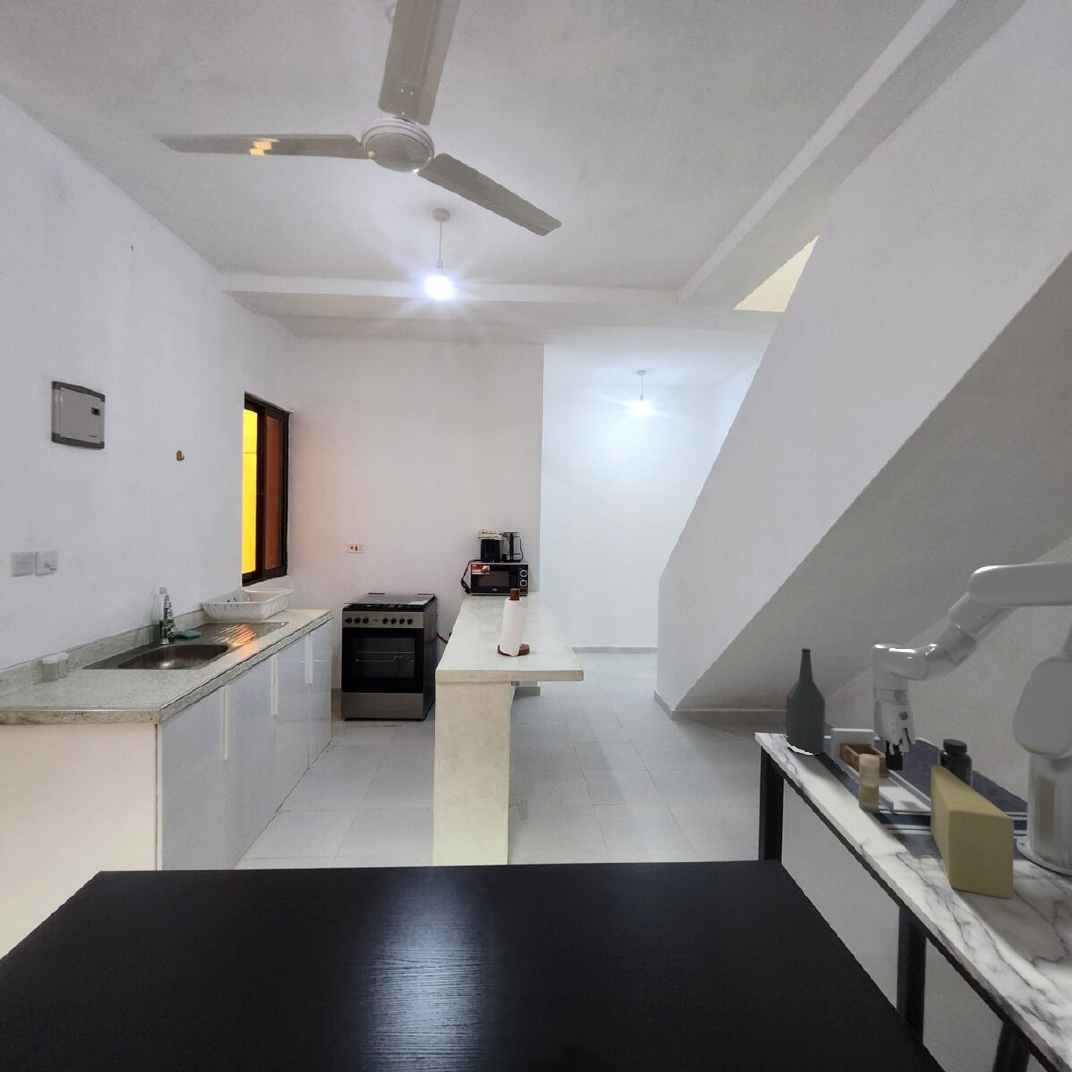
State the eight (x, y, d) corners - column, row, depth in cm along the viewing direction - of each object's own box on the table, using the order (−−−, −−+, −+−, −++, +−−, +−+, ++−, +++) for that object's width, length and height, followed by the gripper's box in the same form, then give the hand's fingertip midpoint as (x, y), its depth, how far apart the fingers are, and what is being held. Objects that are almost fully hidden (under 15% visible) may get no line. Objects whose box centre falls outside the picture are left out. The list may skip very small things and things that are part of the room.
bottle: (830, 756, 156) (832, 652, 156) (796, 756, 156) (797, 652, 156) (813, 742, 167) (814, 645, 166) (780, 742, 167) (782, 644, 166)
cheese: (908, 826, 120) (909, 759, 120) (960, 834, 117) (962, 765, 117) (949, 889, 99) (950, 808, 99) (1014, 901, 96) (1016, 817, 96)
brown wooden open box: (888, 776, 142) (889, 757, 142) (857, 775, 143) (857, 756, 143) (869, 762, 151) (870, 744, 151) (840, 761, 152) (840, 743, 152)
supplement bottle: (959, 783, 140) (960, 737, 140) (978, 796, 133) (979, 748, 133) (931, 782, 141) (932, 736, 141) (948, 795, 134) (949, 747, 134)
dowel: (882, 812, 125) (883, 761, 125) (864, 812, 126) (865, 760, 125) (872, 803, 129) (873, 754, 129) (855, 803, 130) (856, 753, 129)
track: (937, 812, 126) (938, 773, 126) (888, 810, 126) (889, 772, 126) (870, 760, 154) (870, 729, 154) (830, 759, 154) (830, 728, 154)
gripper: (926, 702, 128) (930, 781, 127) (888, 687, 143) (891, 758, 142) (893, 702, 128) (897, 781, 127) (859, 687, 143) (862, 758, 142)
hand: (894, 769), depth 135 cm, fingers closed
